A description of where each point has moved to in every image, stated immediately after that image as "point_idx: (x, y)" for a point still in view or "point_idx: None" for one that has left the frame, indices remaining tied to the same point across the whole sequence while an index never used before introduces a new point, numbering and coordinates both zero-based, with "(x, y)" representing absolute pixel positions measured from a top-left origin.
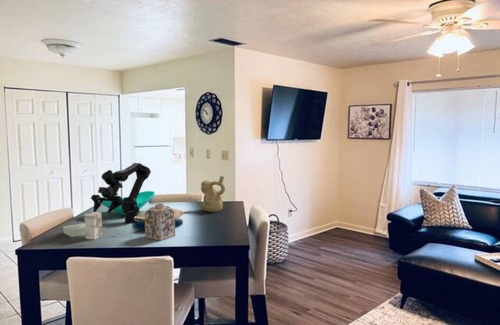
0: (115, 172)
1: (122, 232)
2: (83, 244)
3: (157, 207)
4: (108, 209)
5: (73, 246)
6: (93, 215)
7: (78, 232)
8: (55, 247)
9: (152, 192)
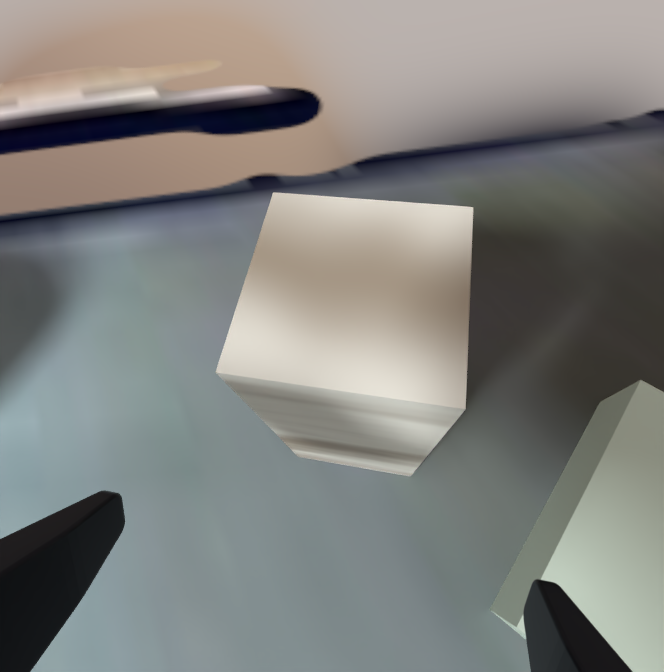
0: None
1: (131, 640)
2: None
3: None
4: (52, 539)
5: None
6: (281, 193)
7: (586, 452)
8: (495, 171)
9: None
